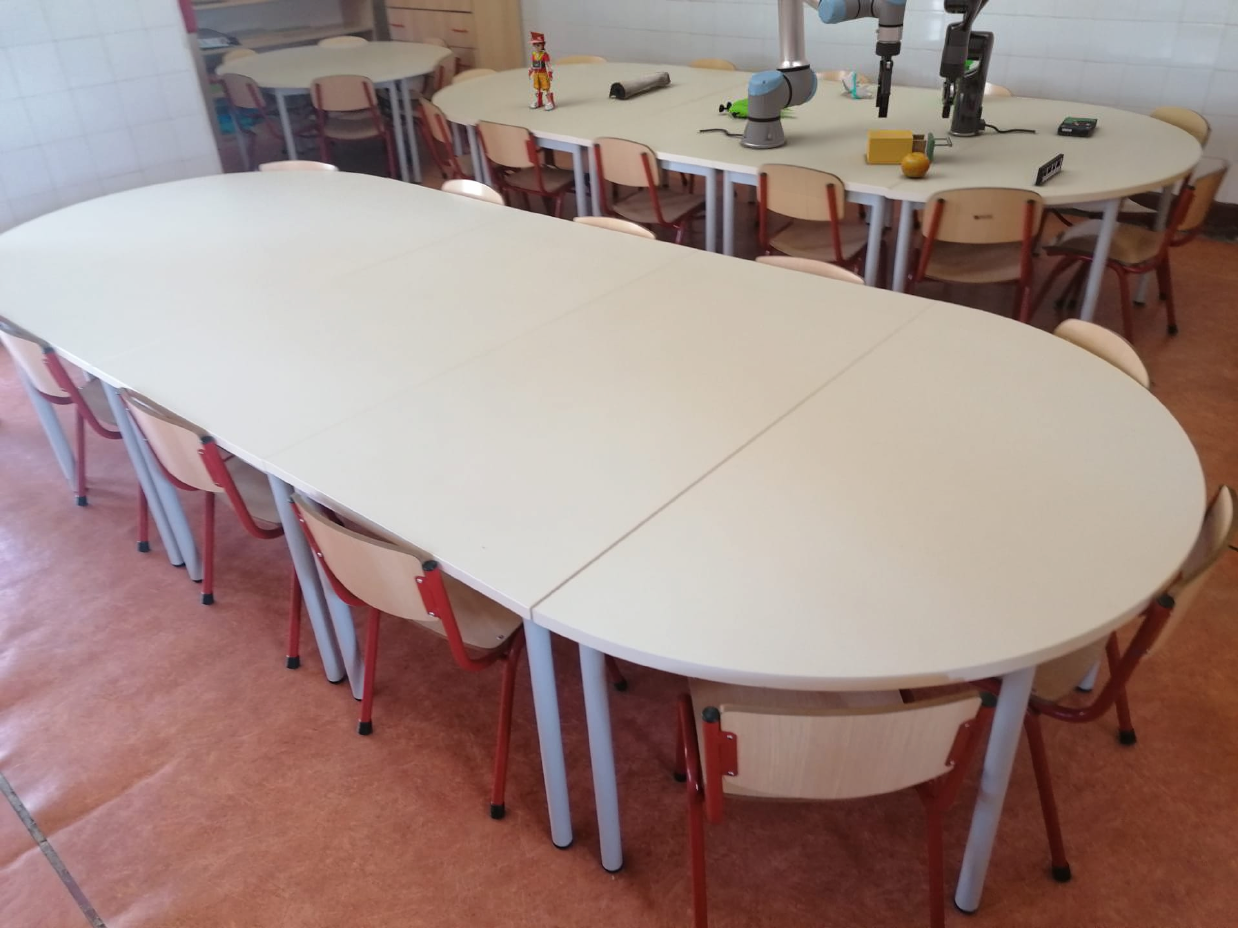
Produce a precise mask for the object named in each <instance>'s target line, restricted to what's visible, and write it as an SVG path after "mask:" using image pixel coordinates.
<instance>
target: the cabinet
mask: <svg viewBox="0 0 1238 928" xmlns="http://www.w3.org/2000/svg"><path fill="white" fill-rule="evenodd" d="M867 134H868V136H867V144H866V145H867V146H866V155H865V156H866V161H867V165H901V163H902V160H903V158H904V157H905V156H906V155H908V154H910V153H912V145H913V136H912V134H913V132H912V130H911V129H869V130H868V133H867Z"/></svg>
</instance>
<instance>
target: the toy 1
mask: <svg viewBox="0 0 1238 928" xmlns="http://www.w3.org/2000/svg"><path fill="white" fill-rule="evenodd" d="M529 33H530V35H531V36H528V37H527V38H528V39H529V40H528V41H527V43H529V44H530V43H531V44H532V48H533V50H534V51H533V52H532V55H531V58H530V59H531V63H530V66H528V74H527V75H528V76H527V77H528V79H529V80H531V75H532V74H533V84H532V85H533V86H532V87H533V88H534V89H535V90H536V92H534V95H535V97H536V100H535V101H533V102H531V105H530V108H531V109H535V108H538V107H542V106H544V101H543V100H544V99H543V95H544V92H546V94H545V97H546V99H547V103H546V104H545V106H544V110H546V111H549V110H553V109H554V107H555V106H556V105H555V99H554V92H551V91H550V90H551V86H552V84H551V82H552V81H553V80H554V77H553V73H554V71H555V70H554V69H552V68H551V63H550V61H551V59H550V58H551V57H550V54H549V53H548V52H547V50H546V48H545V46H546V44H547V41H545V35H544V33H543V32H542V33H539V32H535V31H529Z"/></svg>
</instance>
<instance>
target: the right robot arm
mask: <svg viewBox="0 0 1238 928" xmlns="http://www.w3.org/2000/svg"><path fill="white" fill-rule="evenodd" d="M989 1H990V0H943V9H944V11H945V12H946V14H950V15H962V20H959V21H954V22H951V23H948V25H947V26H946V31H945V37H944V45H943V48H942V52H941V59H940V66H939V73H938V76H939V77H941V78H944V79H945V81H943V82H942V95H941V96H942V99H941V101H942V109H941V110H942V111H941V118H942V119H950V114H951V108H952V106H953V110H952V115H951V119H950V129H949V134H950V135H952V136H956V137H973V136H979V131H980V132H981V131H982V132H983V131H985V130H986V127H987V128H990V129H993V130H995V132H997V133H999V134H1007V133H1012V132H1019V133H1020V132H1022V133H1033V134H1036V132H1037V130H1035V129H1026V128H1025V129H1024V128H1011V129H1006V130H1001V129H999V128H998V127H997V126H995V125H993V124H988V123H987V122H986V120H985V118H982V115H983V109H984V107H983V102H984V96H985V90H986V83H987V79H988V72H989V67H990V63H991V58H992V53H993V49H994V44H995V34H994V32H993V31H989V30H988V31H987V30H973V25H974V23H975V20H976V19H977V17H978V16H979V14H980V13H981V11H982V10H983V9H984V8H985V6H986V5H987V4H988V3H989ZM966 61H973V62H978V64H977V65H976V66H974V67H972V68H969V70H966V71H965V67H966ZM957 78H958V83H957V82H956V79H957ZM956 89H957V90H956ZM954 99H955V103H953V102H954Z"/></svg>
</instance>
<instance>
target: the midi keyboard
mask: <svg viewBox="0 0 1238 928" xmlns="http://www.w3.org/2000/svg"><path fill="white" fill-rule="evenodd" d="M1064 157H1065V153H1059V154H1058V155H1056V156H1055V157H1052V159H1051V160H1049V161H1047V162H1045V164H1042V165H1041V166H1039V167H1038V169H1037V175H1036V179H1035V186H1040V185H1042V183H1044V182H1045V181H1047V180H1048V179H1049V178H1051V177H1052V176H1054V175H1055V174H1056V173H1058V172H1060V171H1061V170H1062V165H1063V161H1064Z"/></svg>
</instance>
